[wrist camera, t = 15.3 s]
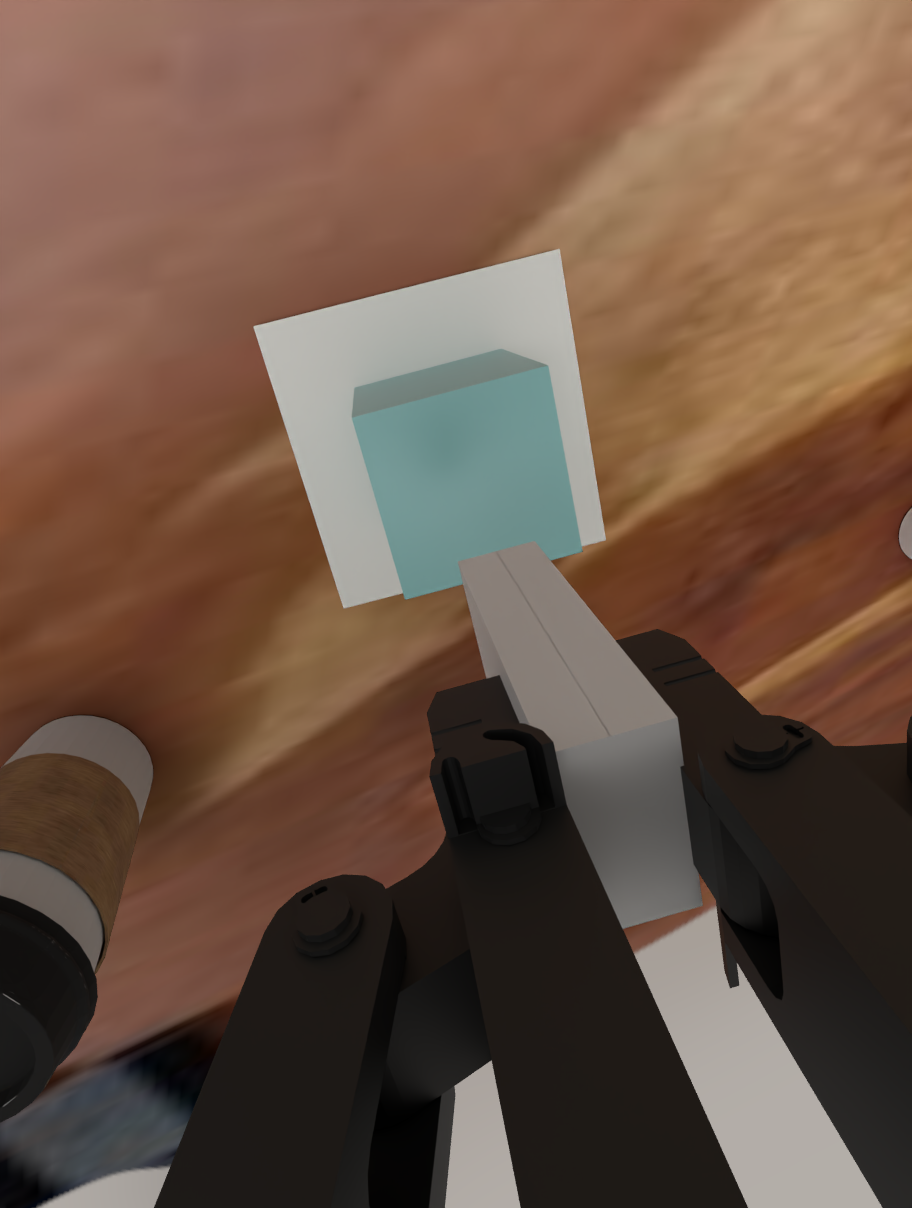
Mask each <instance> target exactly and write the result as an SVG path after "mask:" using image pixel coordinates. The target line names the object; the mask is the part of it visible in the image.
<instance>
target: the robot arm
mask: <svg viewBox="0 0 912 1208" xmlns="http://www.w3.org/2000/svg"><path fill="white" fill-rule="evenodd" d="M458 565H459V569H460V573H461V577H462V581H463V585H464V590H465V594H466V598H467V602H468V606H469V610H470V614H471V618H472V622H473V626H474V630H475V634H476V638H477V642H478V646H479V650H480V654H481V658H482V662H483V667H484V671H485V675H486V679H483V680H480V681H476V682H472V683H469V684H465V685H461V686H458V687H454V688H451V689H447V690H443V691H440V692H437V693H436V695H435V697H434V699H433V701H432V703H431V705H430V708H429V710H428V712H427V716H428V721H429V726H430V731H431V735H432V741H433V746H434V751H435V757H434V759H433V760H432V762H431V769H430V780H431V783H432V787H433V790H434V793H435V797H436V800H437V803H438V807H439V810H440V813H441V817H442V820H443V823H444V827H445V830H446V836H445V839H444V841H443V843H442V844H441V846H440V848H439V849H438V851H437V852H436V854H435V855H434V856H433V857H432V858H431V859H430V860H429V861H428V862H427V863H426V864H425V865H424V866H423V867H421V868H420V869H418V870H417V871H415V872H414V873H412V874H411V875H409V876H408V877H406V878H405V879H403V880H401V881H399V882H398V883H396V884H394V885H392V886H390V887H389V888H387V889H385V887H384V886H383V884H381V883H379V882H377V881H375V880H373V879H371V878H369V877H367V876H362V875H340V876H336V877H332V878H328V879H324V880H320V881H318V882H316V883H314V884H313V885H311V886H309V887H307V888H305V889H303V890H301V891H300V892H298V893H296V894H295V895H294V896H293V897H292V898H291V899H290V900H289V901H288V902H286V903H285V904H284V905H283V906H282V907H281V908H280V909H279V910H278V911H277V912H276V914H275V916H274V917H273V919H272V921H271V922H270V924H269V925H268V927H267V929H266V930H265V932H264V935H263V937H262V940H261V942H260V945H259V947H258V950H257V952H256V955H255V957H254V960H253V962H252V965H251V967H250V970H249V972H248V975H247V977H246V980H245V982H244V985H243V987H242V990H241V992H240V995H239V997H238V1000H237V1002H236V1005H235V1007H234V1010H233V1012H232V1015H231V1017H230V1020H229V1022H228V1025H227V1027H226V1030H225V1032H224V1035H223V1037H222V1039H221V1042H220V1044H219V1047H218V1049H217V1052H216V1054H215V1057H214V1059H213V1062H212V1064H211V1067H210V1069H209V1072H208V1074H207V1077H206V1079H205V1082H204V1084H203V1087H202V1089H201V1092H200V1094H199V1097H198V1099H197V1102H196V1104H195V1107H194V1109H193V1112H192V1114H191V1117H190V1119H189V1122H188V1124H187V1127H186V1129H185V1132H184V1134H183V1137H182V1139H181V1142H180V1144H179V1147H178V1149H177V1152H176V1154H175V1157H174V1159H173V1162H172V1164H171V1167H170V1169H169V1172H168V1174H167V1177H166V1179H165V1182H164V1184H163V1187H162V1189H161V1192H160V1194H159V1197H158V1199H157V1201H156V1204H155V1207H154V1208H445V1199H446V1189H447V1178H448V1167H449V1157H450V1146H451V1135H452V1125H453V1114H454V1103H455V1088H454V1086H455V1085H456V1084H458V1083H459V1082H461V1081H462V1080H463V1079H465V1078H466V1077H468V1076H469V1075H471V1074H472V1073H474V1072H475V1071H476V1070H478V1069H479V1068H481V1067H482V1066H484V1065H485V1064H486V1063H488V1062H489V1061H491V1060H492V1064H493V1069H494V1074H495V1079H496V1084H497V1089H498V1094H499V1099H500V1105H501V1109H502V1115H503V1120H504V1125H505V1130H506V1135H507V1140H508V1145H509V1149H510V1155H511V1160H512V1165H513V1171H514V1176H515V1181H516V1186H517V1191H518V1196H519V1201H520V1206H521V1208H748V1207H747V1204H746V1202H745V1200H744V1198H743V1195H742V1193H741V1191H740V1189H739V1187H738V1184H737V1182H736V1180H735V1178H734V1175H733V1173H732V1171H731V1169H730V1167H729V1164H728V1162H727V1160H726V1158H725V1155H724V1153H723V1151H722V1149H721V1147H720V1144H719V1142H718V1140H717V1138H716V1135H715V1133H714V1131H713V1129H712V1127H711V1124H710V1122H709V1120H708V1118H707V1115H706V1114H705V1111H704V1109H703V1107H702V1105H701V1102H700V1100H699V1098H698V1095H697V1093H696V1091H695V1089H694V1086H693V1084H692V1082H691V1080H690V1078H689V1076H688V1074H687V1071H686V1069H685V1066H684V1064H683V1062H682V1060H681V1058H680V1055H679V1053H678V1051H677V1049H676V1046H675V1044H674V1042H673V1040H672V1038H671V1035H670V1033H669V1031H668V1029H667V1027H666V1024H665V1022H664V1020H663V1018H662V1016H661V1013H660V1011H659V1009H658V1007H657V1004H656V1002H655V1000H654V998H653V995H652V993H651V991H650V989H649V987H648V984H647V982H646V980H645V978H644V975H643V973H642V971H641V969H640V966H639V964H638V962H637V960H636V958H635V955H634V953H633V951H632V949H631V946H630V944H629V942H628V940H627V938H626V935H625V933H624V931H623V929H624V928H627V927H631V926H634V925H638V924H641V923H645V922H648V921H651V920H655V919H658V918H662V917H665V916H669V915H672V914H676V913H679V912H682V911H686V910H689V909H693V908H696V907H700V906H703V904H702V897H701V889H700V882H699V874H700V875H701V877H702V879H703V880H704V882H705V883H706V885H707V887H708V888H709V890H710V891H711V893H712V895H713V896H714V898H715V899H716V906H717V914H718V921H719V930H720V938H721V946H722V954H723V962H724V969H725V974H726V976H727V980H728V983H729V986H730V988H732V987H736V986H739V979H738V970H737V963H738V965H739V967H740V968H741V970H742V971H743V973H744V975H745V977H746V978H747V980H748V982H749V983H750V985H751V987H752V988H753V990H754V992H755V993H756V995H757V997H758V999H759V1000H760V1002H761V1004H762V1005H763V1007H764V1008H765V1010H766V1012H767V1013H768V1015H769V1017H770V1019H771V1020H772V1022H773V1024H774V1026H775V1027H776V1029H777V1030H778V1032H779V1034H780V1035H781V1037H782V1039H783V1041H784V1042H785V1044H786V1046H787V1047H788V1049H789V1051H790V1052H791V1054H792V1056H793V1057H794V1059H795V1061H796V1063H797V1064H798V1066H799V1068H800V1069H801V1071H802V1073H803V1074H804V1076H805V1078H806V1079H807V1081H808V1083H809V1084H810V1086H811V1088H812V1089H813V1091H814V1093H815V1094H816V1096H817V1098H818V1100H819V1101H820V1103H821V1105H822V1106H823V1108H824V1110H825V1111H826V1113H827V1115H828V1116H829V1118H830V1120H831V1121H832V1123H833V1125H834V1126H835V1128H836V1130H837V1131H838V1133H839V1135H840V1137H841V1138H842V1140H843V1141H844V1143H845V1145H846V1147H847V1148H848V1150H849V1152H850V1153H851V1155H852V1156H853V1158H854V1160H855V1162H856V1163H857V1165H858V1167H859V1168H860V1170H861V1172H862V1174H863V1175H864V1177H865V1179H866V1180H867V1182H868V1184H869V1185H870V1187H871V1188H872V1190H873V1192H874V1194H875V1196H876V1197H877V1199H878V1201H879V1202H880V1204H881V1206H882V1207H883V1208H912V716H911V717H910V720H909V725H908V729H907V743H899V744H883V745H867V746H833V745H832V744H831V743H830V742H828V741H827V740H826V739H825V738H824V737H823V736H822V735H821V734H820V733H818V732H817V731H815V730H813V729H812V728H810V727H808V726H807V725H805V724H804V723H802V722H799V721H795V720H792V719H788V718H785V717H781V716H771V715H761V714H760V713H759V712H758V711H757V710H756V709H755V708H754V707H753V706H752V705H751V704H750V703H749V702H748V701H747V700H746V699H745V698H744V697H743V696H742V695H741V694H740V693H739V692H738V691H737V690H736V689H735V688H734V687H733V686H732V685H731V684H730V683H729V682H728V681H727V680H726V679H725V678H724V677H723V676H722V675H720V674H719V673H718V672H717V673H716V672H715V669H714V668H713V667H712V666H711V665H710V664H709V663H708V662H707V661H706V660H705V659H702V658H701V655H700V654H699V653H698V652H697V651H696V650H695V649H694V648H693V647H692V646H691V645H690V644H689V643H688V642H687V641H686V640H685V639H682V638H680V637H677V636H675V635H672V634H669V633H667V632H664V631H661V630H659V629H656V630H652V631H649V632H645V633H641V634H638V635H634V636H630V637H627V638H623V639H620V640H616V641H615V640H614V638H613V637H612V636H611V635H610V633H609V632H608V631H607V630H606V628H605V627H604V626H603V625H602V624H601V622H600V621H599V620H598V619H597V617H596V616H595V615H594V614H593V612H592V611H591V610H590V609H589V608H588V606H587V605H586V604H585V603H584V601H583V600H582V599H581V598H580V596H579V595H578V594H577V593H576V591H575V590H574V589H573V588H572V587H571V585H570V584H569V583H568V582H567V580H566V579H565V578H564V577H563V575H562V574H561V573H560V572H559V571H558V569H557V568H556V567H555V566H554V564H553V563H552V562H551V561H550V559H549V558H548V557H547V556H546V554H545V553H544V552H543V551H542V550H541V548H540V547H539V546H538V545H537V543H536V542H535V541H532V542H529V543H525V544H521V545H517V546H514V547H510V548H506V549H503V550H499V551H495V552H491V553H488V554H484V555H480V556H476V557H473V558H469V559H465V560H462V561H458ZM698 872H699V874H698Z"/></svg>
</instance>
